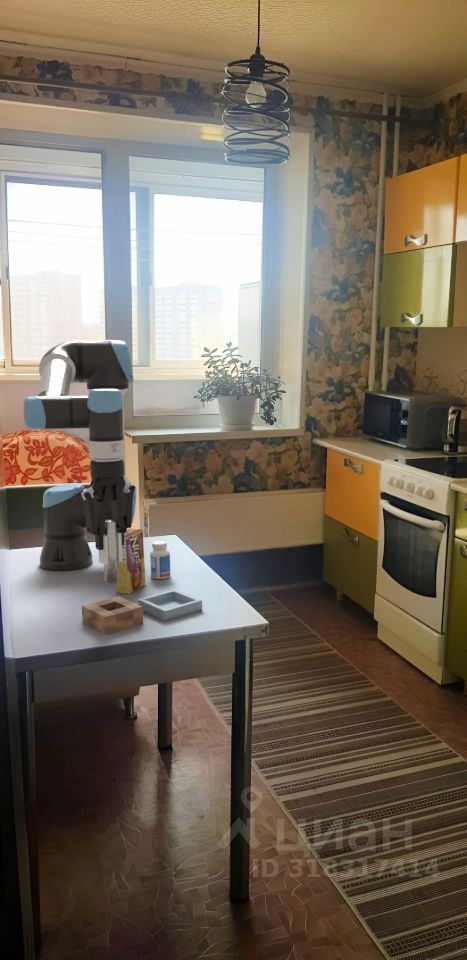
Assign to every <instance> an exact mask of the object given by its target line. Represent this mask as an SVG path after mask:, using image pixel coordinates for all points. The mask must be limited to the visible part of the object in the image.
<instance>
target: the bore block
mask: <svg viewBox="0 0 467 960" xmlns="http://www.w3.org/2000/svg"><path fill="white" fill-rule="evenodd" d="M81 616H82V617H81V618H82V620H81V621H82V623H83V624H85V625H87V626H89V627H90V628H92V629H95V630H97V631H98V632H101V633H102V634H104V635H109V634H112V633H115V632H119V631H122V630H125V629H129V628H132V627H135V626H139V625H142V624H144V612H143V607H142V606H140V605H138V603H135V602H133V601H131V600H128V599H126V598H124V597H122V596H120V595H118V596H114V597H110V598H107V599H101V600H99V601H98V600H97V601H95V602H91V603H87V604H83V605H82V606H81Z"/></svg>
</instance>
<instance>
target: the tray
mask: <svg viewBox="0 0 467 960" xmlns="http://www.w3.org/2000/svg"><path fill="white" fill-rule="evenodd" d="M137 604H138V605H140V606H142V607H143V613H146V614H149V616H150V615H151V616H153V617H154V618H157V619H159V620H161V621H163V622H168V621H171V620H174V619H178V618H181V617H184V616H187V615H191V614H194V613H197V612H202V611H203V600H202V599H200V598H197V597H195V596H192V595H189V594H187V593H185V592H181V591H179V590H177V589H171V590H168V591H163V592H160V593H156V594H153V595H148V596H146V597H142V598H138V599H137Z"/></svg>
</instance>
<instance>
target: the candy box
mask: <svg viewBox="0 0 467 960" xmlns="http://www.w3.org/2000/svg"><path fill="white" fill-rule="evenodd" d="M143 531H144V530H143V529H141V528H127V532H126V533H124V545H122V561H117V562H118V582H116V583H115V592H116V593H118V594H124V595H125V594H126V595H130V594H131V593H133V592H135V591H136V590H138V589H140V588H142V587H143V586H145V585H146V568H145V567H146V566H145V565H146V563H145V551H144V550H145V549H144V547H145V546H144V532H143Z"/></svg>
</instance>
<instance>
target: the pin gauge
mask: <svg viewBox="0 0 467 960" xmlns="http://www.w3.org/2000/svg"><path fill="white" fill-rule="evenodd" d="M104 535H107V538H108V564H106V565H105V564H103V569H104V573H103V574H104V583H105V584H106V583H107V584H116V582H118V562H117V531H116V520H105V531H104Z"/></svg>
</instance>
